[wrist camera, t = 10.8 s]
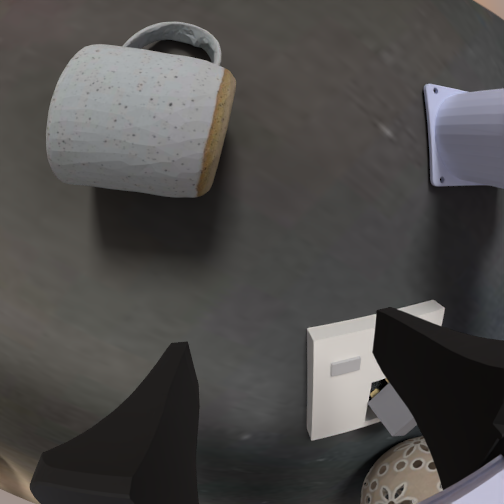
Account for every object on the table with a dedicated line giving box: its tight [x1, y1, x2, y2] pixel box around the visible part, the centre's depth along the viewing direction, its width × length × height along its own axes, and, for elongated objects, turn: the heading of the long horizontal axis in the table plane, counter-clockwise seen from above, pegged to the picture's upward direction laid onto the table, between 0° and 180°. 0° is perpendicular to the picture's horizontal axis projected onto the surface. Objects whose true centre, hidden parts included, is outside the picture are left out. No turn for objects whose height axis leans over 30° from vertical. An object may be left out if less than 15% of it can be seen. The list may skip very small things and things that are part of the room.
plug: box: [367, 378, 417, 436], centre depth 24 cm, size 4×4×5 cm
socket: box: [307, 300, 445, 441], centre depth 24 cm, size 12×12×2 cm
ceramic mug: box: [46, 22, 236, 198], centre depth 14 cm, size 11×8×8 cm
